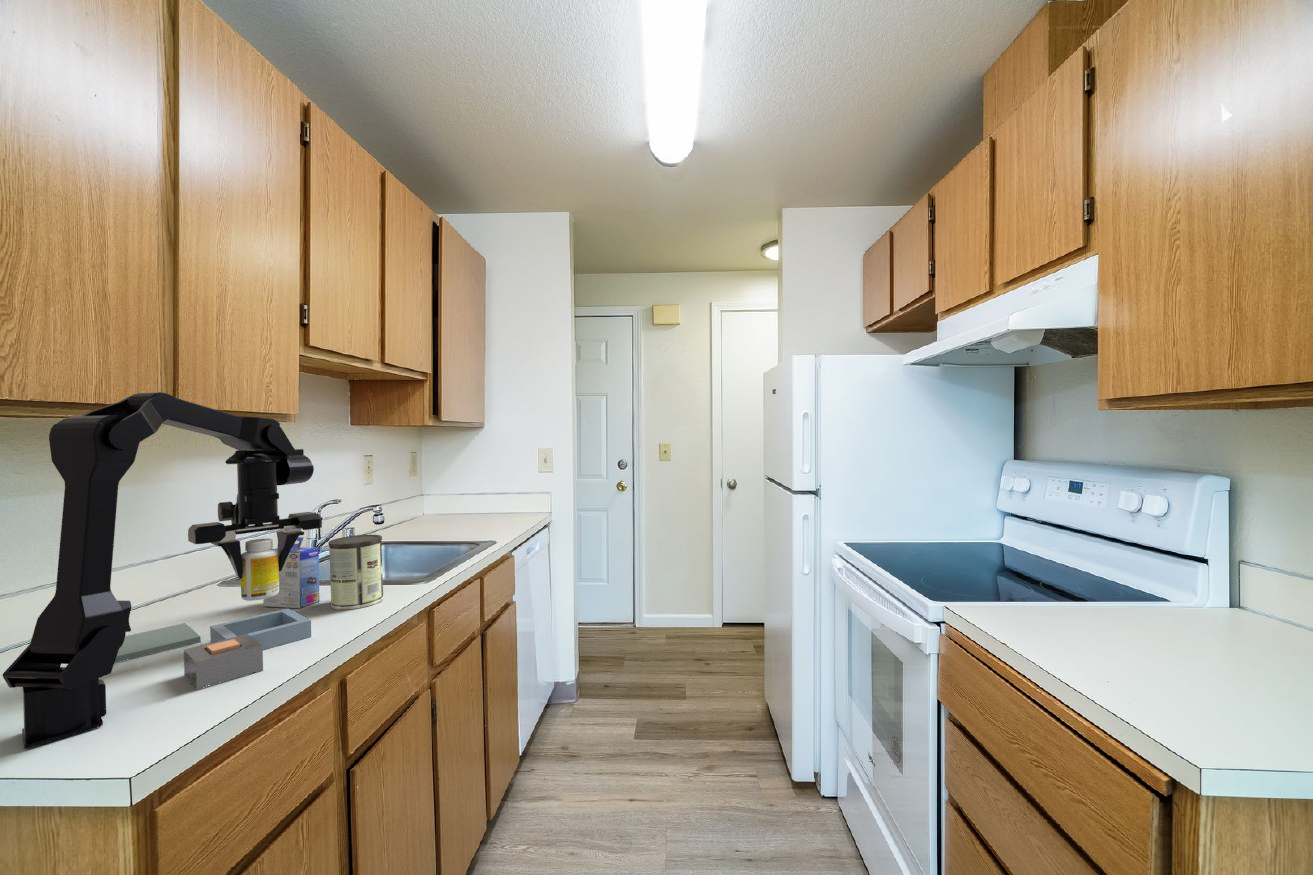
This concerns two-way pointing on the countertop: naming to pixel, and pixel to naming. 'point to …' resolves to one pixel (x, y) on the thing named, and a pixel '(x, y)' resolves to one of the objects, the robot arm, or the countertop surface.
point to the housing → (266, 628)
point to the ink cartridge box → (298, 579)
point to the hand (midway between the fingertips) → (260, 574)
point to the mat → (156, 641)
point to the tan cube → (222, 646)
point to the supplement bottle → (259, 570)
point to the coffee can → (356, 571)
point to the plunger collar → (222, 662)
